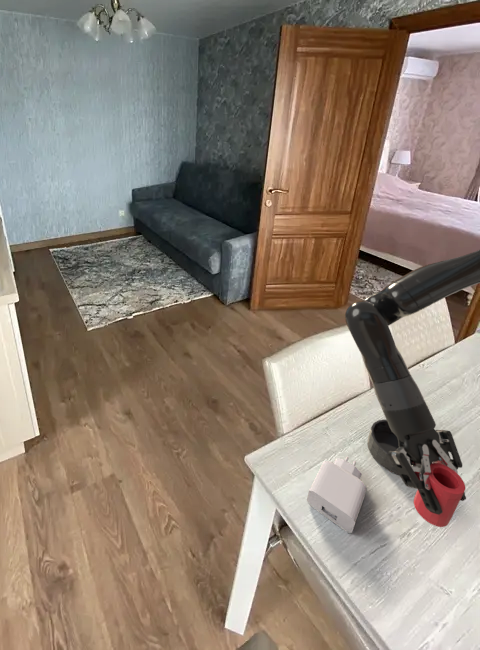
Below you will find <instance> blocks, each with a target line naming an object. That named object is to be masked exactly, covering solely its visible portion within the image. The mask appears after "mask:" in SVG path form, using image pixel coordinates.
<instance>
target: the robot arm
mask: <svg viewBox="0 0 480 650" xmlns="http://www.w3.org/2000/svg"><path fill="white" fill-rule="evenodd" d="M478 284H480V249H477V250H475V251H472V252H470V253H467V254H464V255H460V256H457V257H453V258H448V259H443V260H440V261H436V262H432V263H428V264H426V265H423V266H420V267H418V268H415V269H414V270H411V271H409V272H407V273H406V274H405V275H403V276H401V277H399V278H397V279H395V280H393V281H392V282H390V283H389V284H388V285H386V286H385V287H384V288H383V289H381V290H380V291H377V292H376V293H374V294H372V295H370V296H367V297H366V298H364V299H363V300H361V301H360V300H359V301H356V302H353V303H352V304H350V305H349V306H348V307H347V309H346V311H345V314H344V322H345V324H346V327H347V328H348V331H349V332H350V335H351V337H352V339H353V341H354V343H355V345H356V347H357V349H358V351H359V352H360V355H361V359H362V362H363V365H364V367H365V370H366V372H367V374H368V376H369V379H370V382H371V383H372V387H373V390H374V393H375V396H376V398H377V401H378V403H379V406H380V409H381V410H382V412H383V415H384V417H385V419H386V420H387V422H388V424H389V427H390V429H391V431H392V432H393V433H394V434H395V435H396V436H397V438H398V443H399V448H398V449H397V450H396V451H389V452H388V455H389V457H390V459H391V461H392V463H393V464H394V466H395V468H396V470H397V471H398V473H399V475H398V476H399V477H400V478H401V480H402V482H403V484H404V485H405V486H406V487H408V488H411V489H416V490H418V491H419V493H420V495H421V498H422V500H423V502H424V505H425V507H426V508H427V509H428V510H429V511H430V512H432V513H435V514H438V515H439V514H441V513H442V512H443V511H442V509H441V506H440V504H439V502H438V500H437V497H436V495H435V493H434V491H433V489H432V488H431V484H430V479H429V475H430V474H431V469H430V465H431V464H432V463H440V464H443V465H445V466H448V467H449V468H451V469H452V470H454V471H455V472H456V473H457V474H458V475H459V471H458V470H459V469H462V468H463V462H462V459H461V456H460V453H459V450H458V448H457V445H456V443H455V440H454V437H453V434H452V432H451V431H450V430H445V429H435V428H436V426H437V424H436V421H435V419H434V417H433V415H432V413H431V411H430V408H429V407H428V404H427V402H426V400H425V398H424V396H423V394H422V391H421V390H420V387H419V386H418V384H417V383H416V380H414V378H413V375H412V374H411V372H410V370H409V368H408V365H407V364H406V362H405V359H404V357H403V355H402V354H401V352H400V350H399V349H398V347H397V345H396V342H395V339H394V337H393V335H392V332H391V329H390V327H389V326H391V325H392V324H395V323H396V322H398V321H400V320H401V319H403V318H405V317H409V316H411V315H415V314H416V313H418V312H420V311H423V310H424V309H426V308H428V307H430V306H432V305H434V304H435V303H438V302H439V301H441V300H443V299H445V298H447V297H449V296H451V295H453V294H457V293H458V292H461V291H463V290H465V289H467V288H470V287H473V286H475V285H478ZM450 454H451V455H450ZM406 455H407V457H406ZM451 457H452V458H451ZM416 464H419V465H422V467H421V468H420V467H417V466H416ZM419 473H420V474H419ZM465 500H467V496H466V491H464V493H463V495H462V498H461V500H460V502H463V501H465Z"/></svg>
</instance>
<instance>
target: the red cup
mask: <svg viewBox="0 0 480 650" xmlns="http://www.w3.org/2000/svg"><path fill="white" fill-rule="evenodd" d="M430 469H431V474H430V475H429V479H430V484H431V488H432V489H433V491H434V493H435V495H436V497H437V500H438V502H439V504H440V506H441V509H442V511H443V512H442V513H441V514H439V515H438V514H435V513H432V512H430V511H429V510H428V509H427V508H426V507H425V505H424V502H423V500H422V498H421V495H420V493H419V491H418V489H416V492H415V495H414V497H413V506H414V508H415V510H416V512H417V514H418V515H419V516H420V517H421V518H422V519H423V520H424V521H426V522H427V523H429V524H431V525H432V526H434V527H438V528H444V527H447V526H448V525H449V524H450V522H451V520H452V518H453V516H454V514H455V512H456V510H457V508H458V506H459V503H460V502H461V498H462V495H463V493H464V492H466V483H465V481H464V480H463V479H462V478H463V477H462V476H460V475H459V473H458V474H457V473H456V472H455V471H454V470H452V469H451V468H449V467H448V466H445V465H443V464H440V463H432V464H431V465H430Z"/></svg>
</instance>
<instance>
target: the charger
mask: <svg viewBox="0 0 480 650" xmlns="http://www.w3.org/2000/svg"><path fill="white" fill-rule="evenodd" d="M349 458H350V457H349V456H346V457H345V459H342V458H339V457H337V458H335V460H334V461H330V460H323V462H322V464H321V466H320V468H319V470H318V472H317V474H316V476H315V478H314V480H313V482H312V483H311V486H310V487H309V489H308V494H307V497H306V502H307V504H308V505H309V506H310V507H311V508H312V509H314V510H315V511H317V512H318V513H319V514H321V515H322V516H323V517H325V518H326V519H328V520H329V521H331V522H332V523H333V524H335V525H336V526H338V527H339V528H340V529H342V530H343V531H345V532H346V533H348V534H353V531H354V528H355V525H356V522H357V519H358V516H359V514H360V511H361V508H362V505H363V502H364V499H365V496H366V493H367V490H368V488H367V486H366V485H365V483H364V481H363V480H362V479H361V478H362V475H363V474H362V472H361V470H359V469H358V467H356V465H357V461H356V460H353V463H351V462H349V461H348V460H349Z"/></svg>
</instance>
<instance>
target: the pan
mask: <svg viewBox="0 0 480 650" xmlns="http://www.w3.org/2000/svg"><path fill="white" fill-rule="evenodd" d="M366 442H367V448H368V449H367V450H368V451H369V453H370V455H371V456H372V458H373V459H374V460H375V462H377V464H379V465H380V466H381V467H382V468H384V469H385V470H387V471H389V472H390V473H392V474H394V475H397V476H400V475H399V473H398V471H397V470H396V468H395V466H394V464H393V463H392V461H391V459H390V457H389V455H388V452H389V451H396V450H397V449H398V448H399V443H398V438H397V436H396V435H395V434H394V433H393V432H392V431H391V429H390V427H389V424H388V422H387V420H386V418H385V419H378V420H376V421H375V422H373V423H372V425H371V427H370V430H369V433H368V437H367V441H366ZM406 457H407V455H406ZM416 466H417V467H420V468H421V467H422V465H419V464H416ZM419 475H421V473H419Z"/></svg>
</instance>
